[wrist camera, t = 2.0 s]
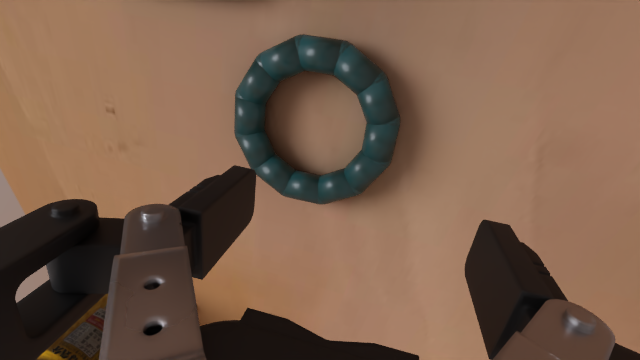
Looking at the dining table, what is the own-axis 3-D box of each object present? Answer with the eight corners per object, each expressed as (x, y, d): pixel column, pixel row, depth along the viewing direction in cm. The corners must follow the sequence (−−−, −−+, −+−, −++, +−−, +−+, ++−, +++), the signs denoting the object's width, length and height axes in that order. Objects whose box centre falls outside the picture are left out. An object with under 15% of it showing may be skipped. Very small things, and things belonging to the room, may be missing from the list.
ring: (416, 50, 19) (417, 51, 18) (379, 209, 24) (377, 222, 22) (245, 25, 21) (230, 24, 19) (240, 178, 26) (228, 189, 24)
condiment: (99, 282, 34) (-41, 394, 23) (148, 251, 31) (11, 365, 20) (146, 332, 36) (35, 459, 25) (197, 308, 32) (95, 443, 21)
